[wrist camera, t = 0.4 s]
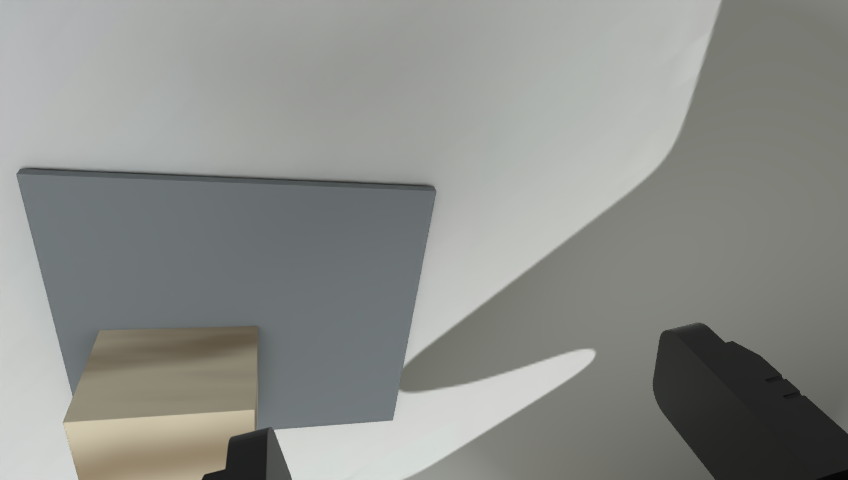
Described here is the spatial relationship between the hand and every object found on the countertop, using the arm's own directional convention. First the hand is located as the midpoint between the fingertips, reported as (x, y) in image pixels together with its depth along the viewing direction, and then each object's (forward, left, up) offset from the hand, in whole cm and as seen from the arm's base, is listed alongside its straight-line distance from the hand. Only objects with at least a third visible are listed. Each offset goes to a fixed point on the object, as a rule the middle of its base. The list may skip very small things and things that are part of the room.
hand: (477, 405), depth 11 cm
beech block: (+16, -9, -18) cm, 25 cm away
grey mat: (+13, -5, -18) cm, 23 cm away
